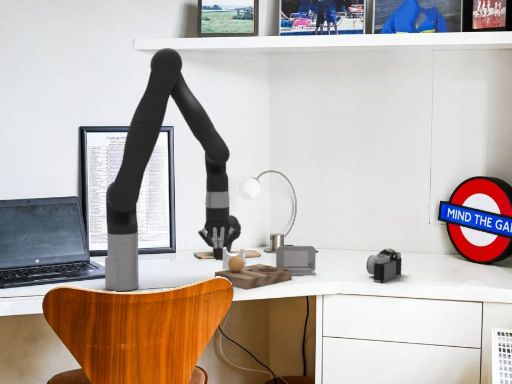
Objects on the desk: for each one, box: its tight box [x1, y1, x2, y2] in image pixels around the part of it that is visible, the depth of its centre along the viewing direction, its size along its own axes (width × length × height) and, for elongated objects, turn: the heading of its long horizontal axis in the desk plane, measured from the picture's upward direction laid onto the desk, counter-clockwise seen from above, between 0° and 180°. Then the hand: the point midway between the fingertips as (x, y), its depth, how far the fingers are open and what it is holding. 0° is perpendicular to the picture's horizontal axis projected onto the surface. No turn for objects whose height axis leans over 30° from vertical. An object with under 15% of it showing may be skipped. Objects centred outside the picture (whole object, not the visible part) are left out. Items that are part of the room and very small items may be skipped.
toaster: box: [275, 245, 316, 277], centre depth 228 cm, size 13×9×10 cm
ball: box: [228, 256, 245, 272], centre depth 215 cm, size 5×5×5 cm
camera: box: [365, 248, 402, 283], centre depth 221 cm, size 16×9×10 cm, turn 140°
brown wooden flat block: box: [214, 263, 293, 290], centre depth 216 cm, size 20×15×3 cm
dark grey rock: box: [205, 214, 242, 261], centre depth 255 cm, size 14×15×18 cm
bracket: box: [222, 247, 246, 270], centre depth 240 cm, size 13×7×8 cm, turn 177°
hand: (217, 259), depth 214 cm, fingers closed
